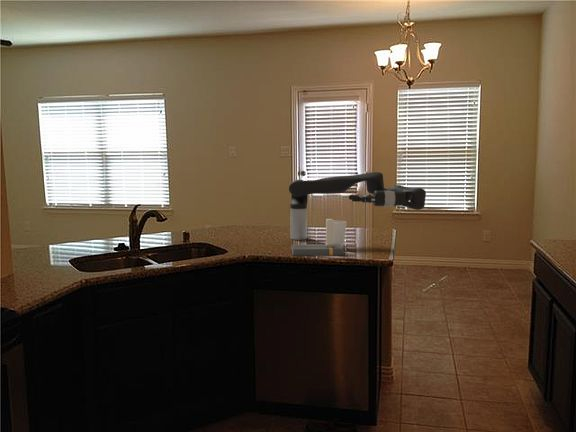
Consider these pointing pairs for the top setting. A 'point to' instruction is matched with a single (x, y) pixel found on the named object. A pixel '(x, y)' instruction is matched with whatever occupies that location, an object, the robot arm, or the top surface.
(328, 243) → the fader tab
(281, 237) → the top surface
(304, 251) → the console
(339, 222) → the foam cup
